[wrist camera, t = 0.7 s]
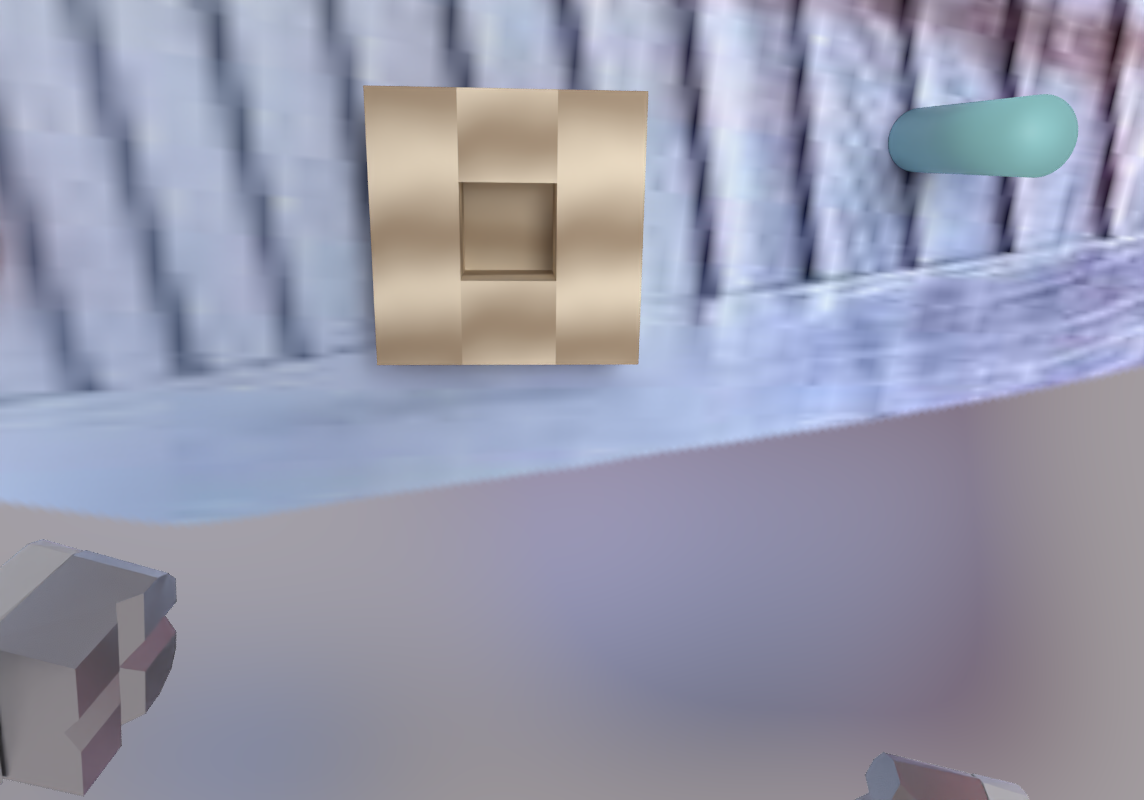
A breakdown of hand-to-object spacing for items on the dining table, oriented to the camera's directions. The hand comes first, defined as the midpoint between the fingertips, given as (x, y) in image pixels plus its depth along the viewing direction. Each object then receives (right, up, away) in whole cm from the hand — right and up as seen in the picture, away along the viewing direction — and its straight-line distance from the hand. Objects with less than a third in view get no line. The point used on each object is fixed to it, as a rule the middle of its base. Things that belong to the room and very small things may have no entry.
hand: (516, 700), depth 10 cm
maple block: (-3, +14, +40) cm, 43 cm away
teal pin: (+21, +19, +41) cm, 49 cm away
